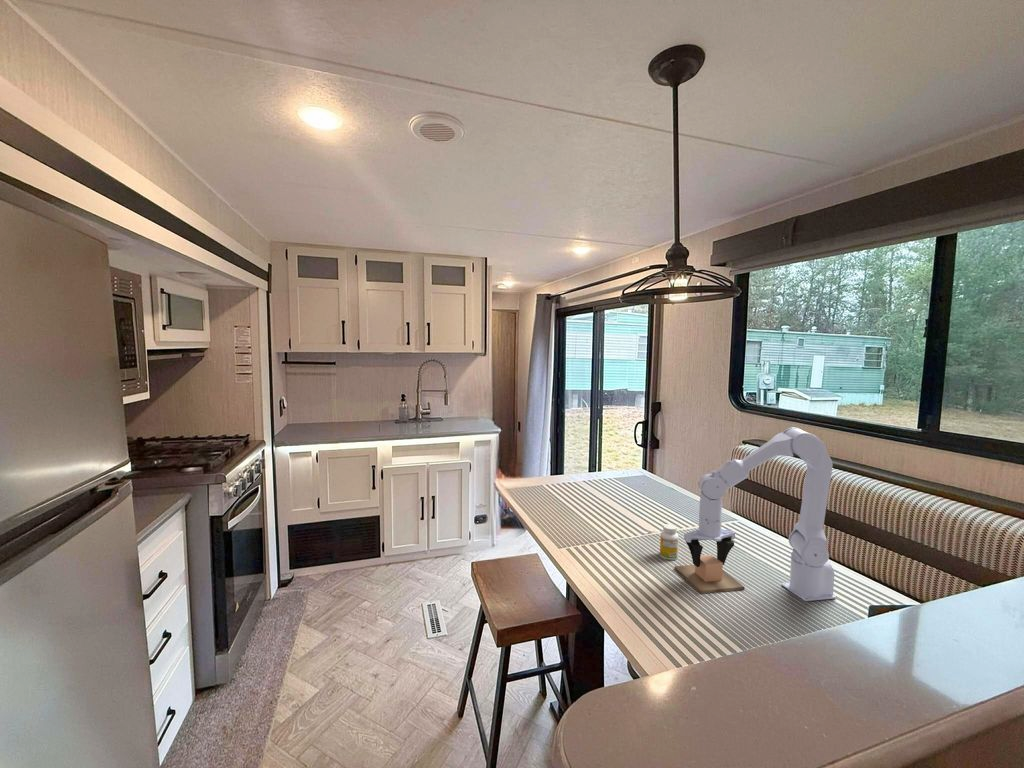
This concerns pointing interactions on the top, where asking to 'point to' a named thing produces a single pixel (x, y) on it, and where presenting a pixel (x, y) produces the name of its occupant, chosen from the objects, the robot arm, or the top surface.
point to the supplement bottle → (669, 542)
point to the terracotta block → (709, 568)
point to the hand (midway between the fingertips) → (708, 564)
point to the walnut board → (711, 586)
